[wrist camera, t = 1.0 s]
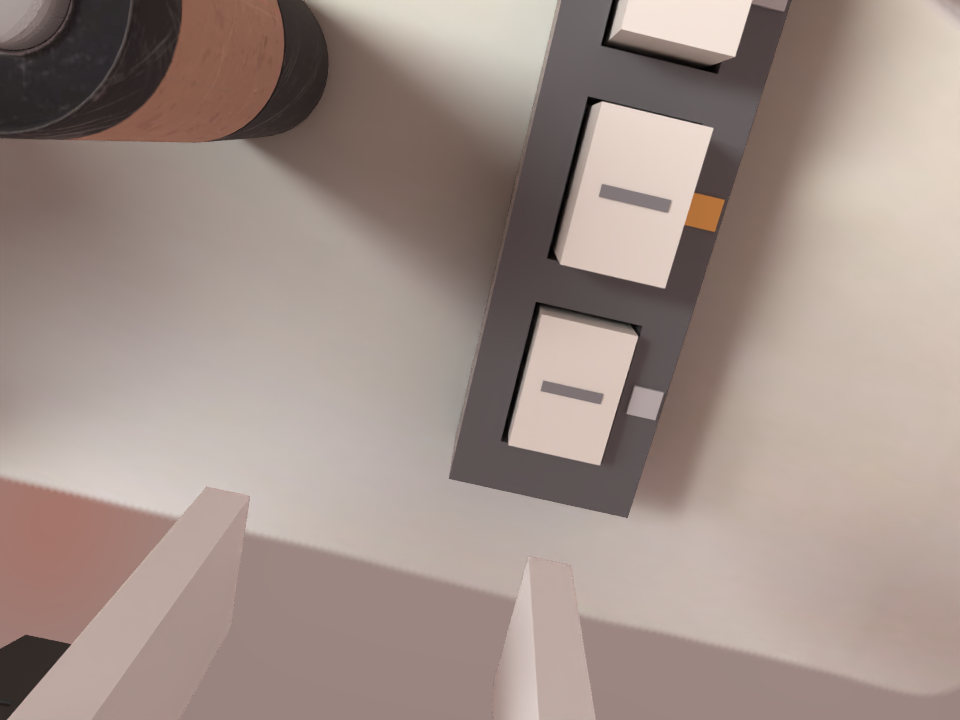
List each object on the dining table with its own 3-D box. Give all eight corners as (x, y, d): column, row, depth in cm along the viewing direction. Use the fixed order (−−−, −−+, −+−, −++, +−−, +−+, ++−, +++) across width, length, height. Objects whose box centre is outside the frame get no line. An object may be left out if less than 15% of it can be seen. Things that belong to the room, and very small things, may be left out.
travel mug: (366, 85, 36) (210, 22, 17) (241, 172, 37) (-36, 205, 18) (272, -64, 34) (-22, -326, 15) (144, 32, 36) (-275, -95, 16)
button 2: (552, 247, 35) (560, 264, 30) (587, 107, 33) (602, 101, 28) (642, 268, 35) (665, 288, 30) (683, 130, 33) (714, 128, 28)
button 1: (507, 408, 39) (508, 445, 34) (536, 292, 38) (542, 314, 33) (588, 426, 39) (600, 466, 35) (621, 311, 38) (638, 336, 33)
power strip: (455, 439, 41) (448, 480, 36) (634, -330, 31) (660, -420, 26) (612, 474, 41) (628, 519, 36) (841, -276, 31) (905, -355, 26)
